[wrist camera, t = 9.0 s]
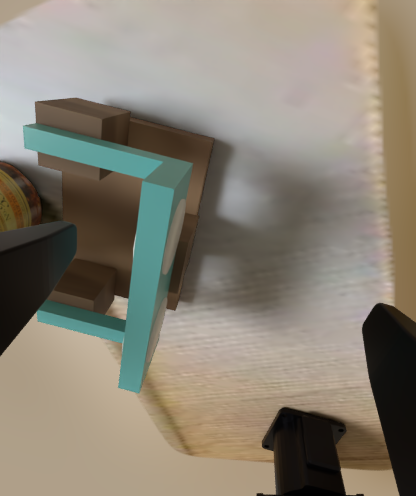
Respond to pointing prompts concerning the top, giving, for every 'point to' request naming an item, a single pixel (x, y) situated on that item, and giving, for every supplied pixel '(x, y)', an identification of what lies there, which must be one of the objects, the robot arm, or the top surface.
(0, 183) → the sauce bottle
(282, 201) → the top surface
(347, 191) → the top surface
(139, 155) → the glasses
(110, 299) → the stand
